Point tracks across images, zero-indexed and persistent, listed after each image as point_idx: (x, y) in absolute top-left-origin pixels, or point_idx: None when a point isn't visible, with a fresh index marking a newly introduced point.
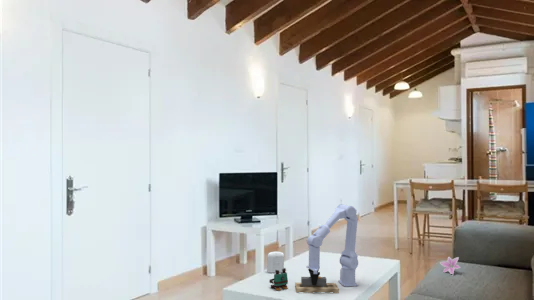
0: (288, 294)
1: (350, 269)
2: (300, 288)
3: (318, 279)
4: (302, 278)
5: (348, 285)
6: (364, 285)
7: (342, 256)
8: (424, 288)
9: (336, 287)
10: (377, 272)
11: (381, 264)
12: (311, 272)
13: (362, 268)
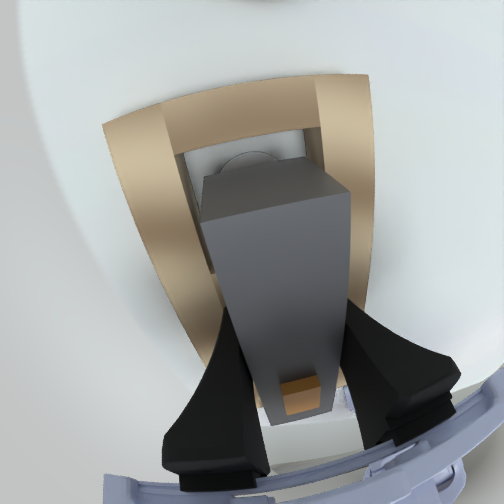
0: (50, 64)
1: (372, 463)
2: (118, 175)
3: (259, 393)
4: (228, 233)
5: (347, 397)
6: (354, 413)
7: (450, 474)
8: (319, 460)
9: (259, 403)
10: (453, 386)
11: (490, 367)
12: (180, 470)
13: (492, 351)
